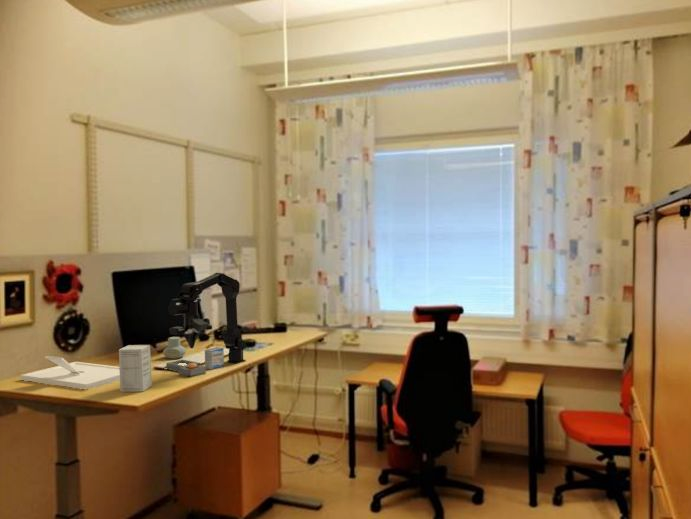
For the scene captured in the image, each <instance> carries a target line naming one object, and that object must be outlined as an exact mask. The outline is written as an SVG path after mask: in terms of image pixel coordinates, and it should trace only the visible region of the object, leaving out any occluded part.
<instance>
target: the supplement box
mask: <svg viewBox="0 0 691 519" xmlns="http://www.w3.org/2000/svg"><path fill="white" fill-rule="evenodd" d="M151 356H152V355H151V345H150V344H133V345H132V344H128V345H126V346H124V347H122V348H120V349H118V360H119V361H118V364H119V365H118V367H119V370H120V381H119V388H120V389H119V391H120V392H121V393H123V392H125V393H126V392H127V393H129V392H130V393H131V392H134V393H135V392H138V393H139V392H144V391H147V390H148V389H149V388H150V387H152V386H153V382H152V381H153V380H152V379H153V378H152V361H151V360H152V358H151Z"/></svg>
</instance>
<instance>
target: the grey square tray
mask: <svg viewBox="0 0 691 519" xmlns="http://www.w3.org/2000/svg"><path fill="white" fill-rule="evenodd" d="M179 363H186V364H187V365H184V366H182V365H178V364H179ZM189 363H196V365H199V366H203V365H201V362H197V361H193V360H187V359H179V360H174V361H170V362H166V366H163V367H164V368H167V369H171V370H173V372H176V371H177V372H176V373H179V368H181V367H185V366H188V364H189ZM167 369H166V370H167ZM171 370H170V371H171Z"/></svg>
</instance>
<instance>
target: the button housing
mask: <svg viewBox="0 0 691 519" xmlns="http://www.w3.org/2000/svg"><path fill="white" fill-rule="evenodd" d="M196 366H197V368H193V369H189V368H188V366H185V367H181V368H179V372H178V375H179V376H182V377H188V378H193V377H197V376H202V375H206V373H207V372H206V371H207V369H206V367H205V365H202V366H199V365H196Z"/></svg>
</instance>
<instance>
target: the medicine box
mask: <svg viewBox="0 0 691 519" xmlns="http://www.w3.org/2000/svg"><path fill="white" fill-rule="evenodd" d="M224 351H225V350H224V347H219V346H218V347H213V348H209V349H204V367H206V370H215V369H219V368H222V367H224V366H225V357H224V356H225V355H224V354H225V353H224Z"/></svg>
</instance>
